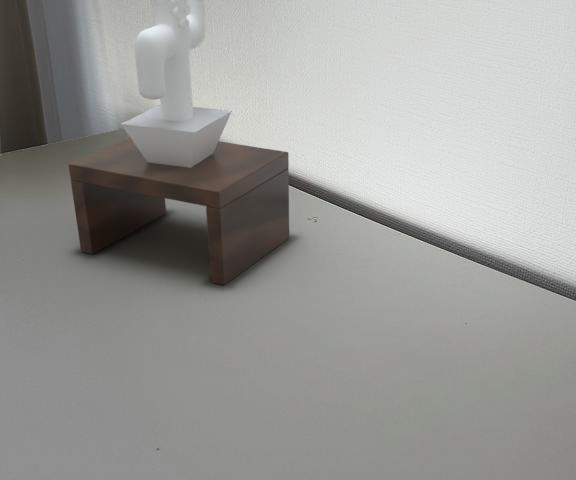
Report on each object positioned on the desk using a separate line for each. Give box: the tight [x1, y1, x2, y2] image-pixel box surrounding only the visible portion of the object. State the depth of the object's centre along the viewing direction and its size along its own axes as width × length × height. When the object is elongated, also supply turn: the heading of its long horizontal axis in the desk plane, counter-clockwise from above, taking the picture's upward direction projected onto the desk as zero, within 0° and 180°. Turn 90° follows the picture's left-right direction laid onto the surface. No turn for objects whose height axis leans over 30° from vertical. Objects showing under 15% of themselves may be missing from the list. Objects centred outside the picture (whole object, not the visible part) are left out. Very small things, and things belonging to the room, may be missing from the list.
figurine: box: [120, 0, 233, 168], centre depth 75 cm, size 7×9×15 cm
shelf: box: [67, 137, 290, 286], centre depth 81 cm, size 16×12×8 cm
